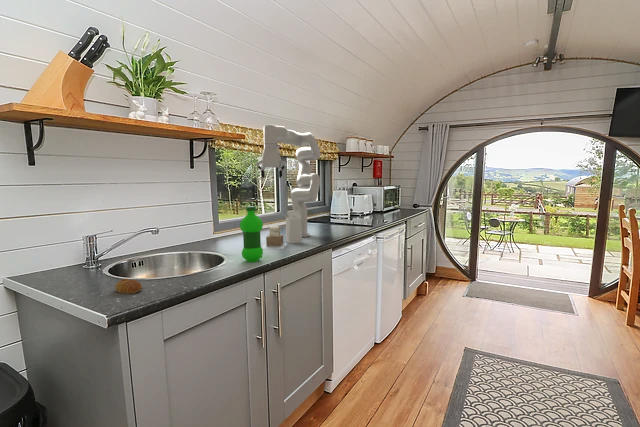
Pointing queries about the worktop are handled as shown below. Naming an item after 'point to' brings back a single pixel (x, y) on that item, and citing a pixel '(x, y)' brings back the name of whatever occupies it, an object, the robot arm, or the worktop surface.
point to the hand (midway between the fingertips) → (271, 177)
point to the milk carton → (293, 227)
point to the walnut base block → (274, 241)
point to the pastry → (128, 286)
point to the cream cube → (274, 231)
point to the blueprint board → (274, 246)
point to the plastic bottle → (251, 235)
